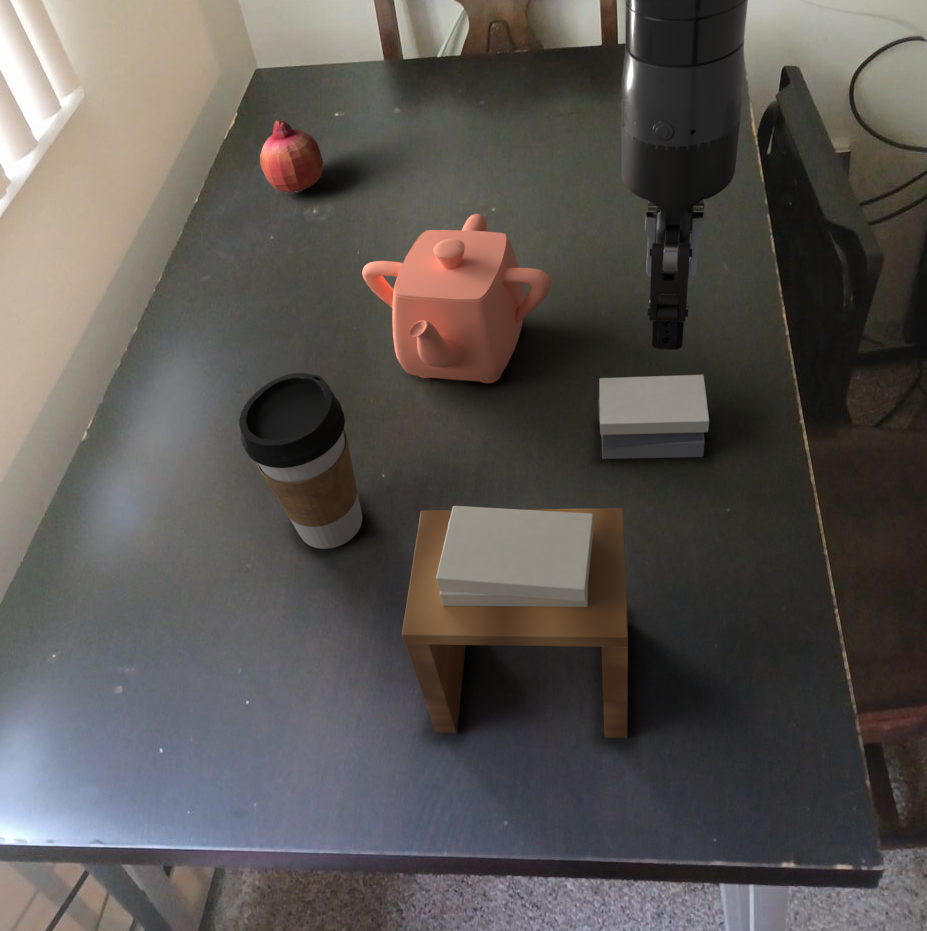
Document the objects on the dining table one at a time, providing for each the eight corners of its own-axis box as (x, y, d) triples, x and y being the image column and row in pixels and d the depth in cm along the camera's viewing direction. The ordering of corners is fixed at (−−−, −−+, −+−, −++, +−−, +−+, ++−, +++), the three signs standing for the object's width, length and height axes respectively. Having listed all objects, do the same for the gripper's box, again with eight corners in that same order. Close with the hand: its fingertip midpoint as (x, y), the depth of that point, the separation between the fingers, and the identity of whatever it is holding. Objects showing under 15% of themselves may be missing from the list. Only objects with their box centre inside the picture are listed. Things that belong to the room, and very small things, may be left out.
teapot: (487, 286, 102) (472, 182, 92) (572, 357, 92) (566, 249, 83) (359, 352, 97) (329, 249, 88) (434, 433, 88) (411, 328, 78)
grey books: (699, 420, 84) (701, 389, 81) (703, 460, 81) (706, 429, 78) (599, 423, 86) (598, 393, 83) (599, 462, 82) (598, 432, 79)
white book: (702, 385, 82) (703, 374, 81) (708, 432, 78) (709, 421, 77) (599, 389, 83) (599, 377, 82) (600, 435, 79) (599, 424, 78)
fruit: (262, 207, 120) (238, 137, 112) (282, 174, 125) (261, 105, 117) (318, 207, 118) (298, 136, 110) (337, 174, 123) (319, 104, 115)
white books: (594, 529, 60) (593, 503, 58) (594, 614, 56) (593, 589, 54) (451, 531, 62) (445, 505, 60) (441, 613, 57) (434, 589, 55)
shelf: (623, 618, 71) (623, 507, 61) (627, 738, 65) (627, 637, 54) (449, 617, 74) (420, 510, 63) (435, 733, 67) (401, 634, 57)
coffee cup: (395, 512, 82) (359, 393, 71) (330, 576, 78) (281, 461, 67) (331, 474, 86) (287, 356, 75) (266, 533, 82) (210, 418, 71)
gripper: (740, 171, 53) (718, 375, 65) (742, 57, 62) (722, 254, 74) (610, 172, 54) (612, 370, 66) (630, 61, 63) (629, 253, 75)
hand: (670, 309), depth 70 cm, fingers open, 8 cm apart
